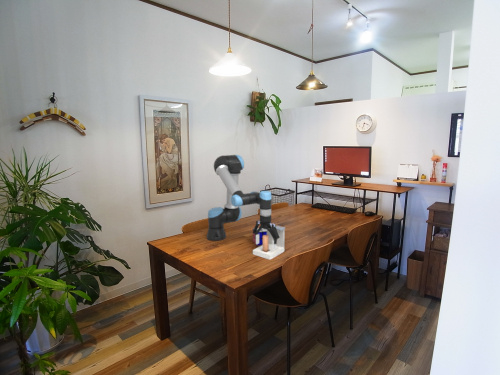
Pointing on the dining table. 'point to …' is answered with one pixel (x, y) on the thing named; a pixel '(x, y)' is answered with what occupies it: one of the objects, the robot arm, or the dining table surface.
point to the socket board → (271, 252)
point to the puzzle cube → (260, 236)
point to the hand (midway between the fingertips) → (265, 246)
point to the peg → (265, 243)
